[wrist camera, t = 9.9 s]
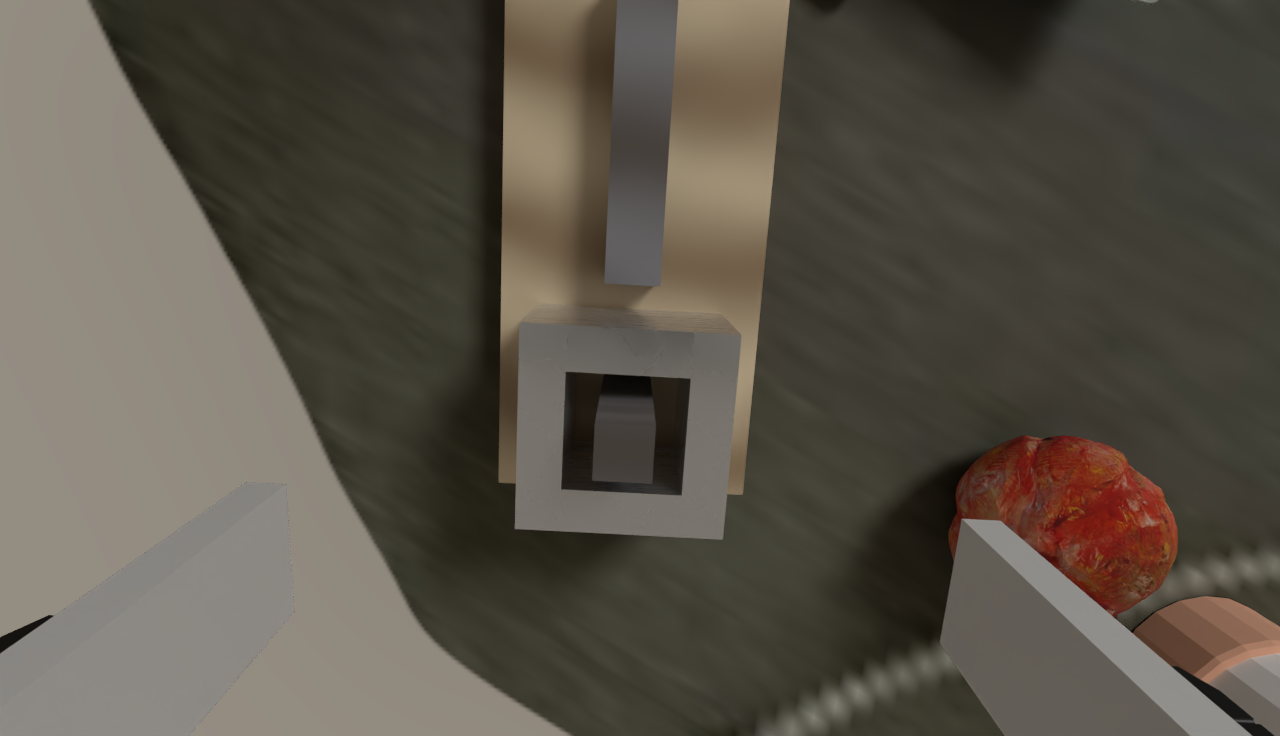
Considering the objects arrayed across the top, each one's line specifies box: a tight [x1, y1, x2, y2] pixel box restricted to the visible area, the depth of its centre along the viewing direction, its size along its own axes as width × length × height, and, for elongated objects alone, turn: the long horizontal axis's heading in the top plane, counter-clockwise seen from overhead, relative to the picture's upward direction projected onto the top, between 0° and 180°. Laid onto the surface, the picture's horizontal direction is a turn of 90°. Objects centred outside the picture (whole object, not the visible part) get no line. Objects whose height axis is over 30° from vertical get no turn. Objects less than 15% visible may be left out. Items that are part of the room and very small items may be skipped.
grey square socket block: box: [515, 303, 742, 540], centre depth 25 cm, size 7×7×5 cm
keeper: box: [499, 0, 790, 495], centre depth 23 cm, size 20×10×8 cm, turn 177°
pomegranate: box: [948, 435, 1178, 620], centre depth 27 cm, size 7×7×10 cm
